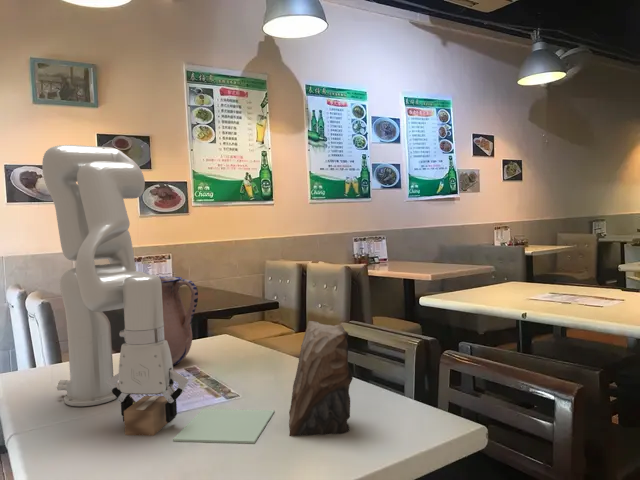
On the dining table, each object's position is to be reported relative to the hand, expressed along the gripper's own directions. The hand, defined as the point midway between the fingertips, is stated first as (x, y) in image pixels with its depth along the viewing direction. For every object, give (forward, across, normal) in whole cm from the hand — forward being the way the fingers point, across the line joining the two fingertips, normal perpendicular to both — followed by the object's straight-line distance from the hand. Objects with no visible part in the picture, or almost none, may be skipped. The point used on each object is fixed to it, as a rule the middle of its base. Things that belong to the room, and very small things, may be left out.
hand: (149, 419), depth 113 cm
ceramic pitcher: (+2, -16, +45) cm, 48 cm away
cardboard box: (+2, 0, 0) cm, 2 cm away
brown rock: (+2, +34, +2) cm, 34 cm away
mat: (+1, +16, +1) cm, 16 cm away
